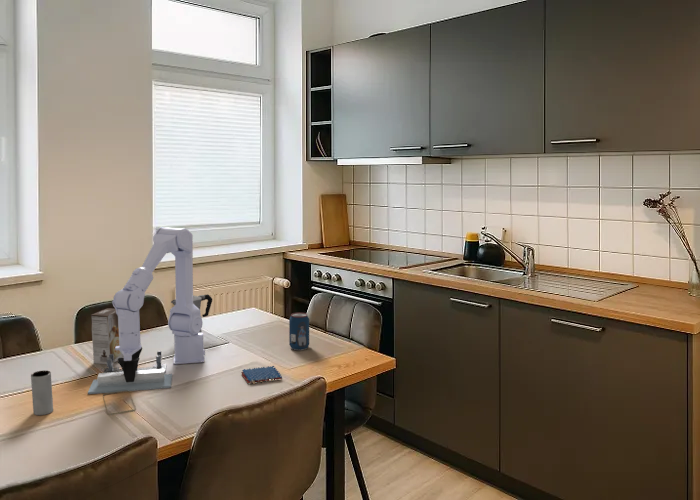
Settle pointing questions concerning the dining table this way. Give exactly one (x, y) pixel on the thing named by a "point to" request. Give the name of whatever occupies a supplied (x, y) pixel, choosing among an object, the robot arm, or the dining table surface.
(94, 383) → the mat
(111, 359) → the gray bar clamp
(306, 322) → the soda can
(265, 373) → the woven mat
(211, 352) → the dining table surface
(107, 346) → the coffee box
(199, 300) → the coffeepot
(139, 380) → the rail
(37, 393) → the planter
